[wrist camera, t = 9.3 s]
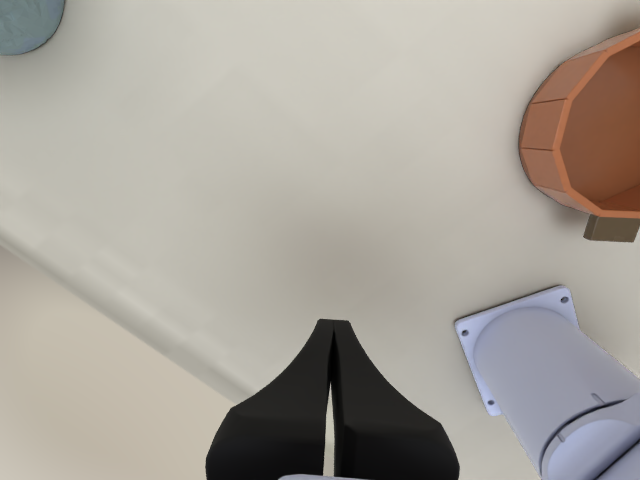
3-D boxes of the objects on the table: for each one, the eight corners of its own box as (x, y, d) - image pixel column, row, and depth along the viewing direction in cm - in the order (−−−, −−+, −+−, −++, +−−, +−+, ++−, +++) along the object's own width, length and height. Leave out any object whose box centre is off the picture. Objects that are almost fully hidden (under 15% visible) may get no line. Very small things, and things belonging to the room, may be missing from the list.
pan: (499, 221, 21) (529, 238, 18) (546, 9, 17) (595, -20, 14) (642, 228, 21) (699, 246, 18) (722, 13, 17) (815, -16, 14)
